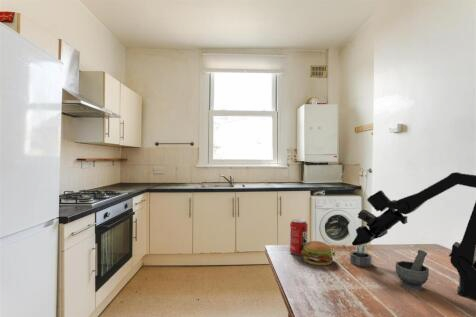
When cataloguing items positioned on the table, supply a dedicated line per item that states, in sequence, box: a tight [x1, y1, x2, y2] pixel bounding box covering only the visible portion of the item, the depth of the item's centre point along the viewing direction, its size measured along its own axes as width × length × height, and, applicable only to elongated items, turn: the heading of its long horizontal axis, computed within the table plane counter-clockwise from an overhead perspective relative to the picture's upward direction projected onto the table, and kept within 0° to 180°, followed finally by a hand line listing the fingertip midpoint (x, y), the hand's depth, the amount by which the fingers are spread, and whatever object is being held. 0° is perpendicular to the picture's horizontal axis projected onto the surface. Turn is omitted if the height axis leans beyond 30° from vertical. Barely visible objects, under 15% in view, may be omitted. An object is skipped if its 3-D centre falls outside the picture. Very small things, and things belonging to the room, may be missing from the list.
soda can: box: [289, 218, 309, 256], centre depth 125 cm, size 8×8×15 cm
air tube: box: [355, 231, 367, 257], centre depth 114 cm, size 4×4×12 cm
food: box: [301, 240, 336, 267], centre depth 116 cm, size 14×14×8 cm
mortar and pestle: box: [395, 249, 430, 292], centre depth 94 cm, size 11×9×12 cm
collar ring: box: [349, 250, 373, 268], centre depth 114 cm, size 8×8×4 cm
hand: (357, 242), depth 115 cm, fingers open, 9 cm apart
